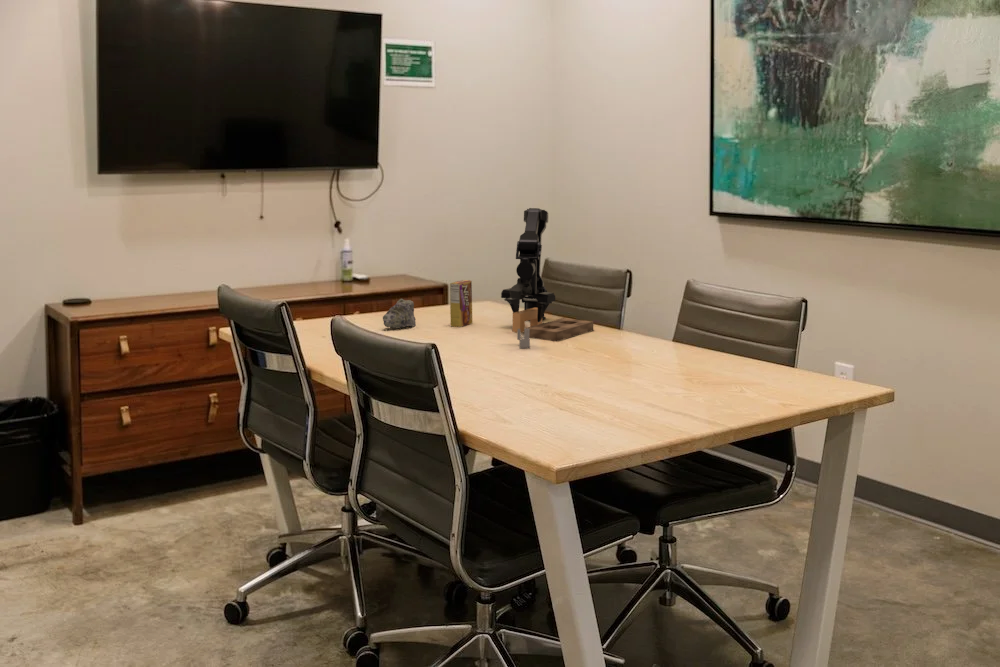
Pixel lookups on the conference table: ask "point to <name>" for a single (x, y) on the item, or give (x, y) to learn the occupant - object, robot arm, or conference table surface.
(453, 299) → the candy box
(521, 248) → the robot arm
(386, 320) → the mineral rock
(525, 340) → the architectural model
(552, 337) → the wooden board with recesses
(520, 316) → the orange brown flat block
